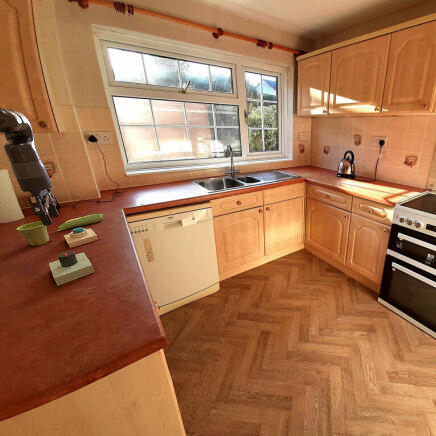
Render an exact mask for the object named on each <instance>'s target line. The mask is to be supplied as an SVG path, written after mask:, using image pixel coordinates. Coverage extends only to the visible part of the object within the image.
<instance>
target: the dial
mask: <svg viewBox="0 0 436 436" xmlns="http://www.w3.org/2000/svg"><path fill="white" fill-rule="evenodd" d="M75 255H76V253H75V251H74V250H68V251H64V252H61V253H59V254H57V258H58V259H57V260H59V261H60V264H61V266H62V267H70V266H73V265H75V264H76V263H78V260H77V258H76V256H75Z"/></svg>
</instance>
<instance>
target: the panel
mask: <svg viewBox="0 0 436 436" xmlns="http://www.w3.org/2000/svg"><path fill="white" fill-rule="evenodd" d="M75 256H76V258H77V260H78V263H76V264H75V265H73V266H70V267H62V266H61V264H60V261H59V259H57V260H54V261H51V262H49V263H48V266H49V269H50V271H51V274H52V278H53V279H54V281H55V283H56V286H57V287H59V286H61V285H64V284H66V283H69V282H72V281H75V280H77V279H80V278H83V277H86V276H88V275H91V274H93V273H96V272H95V268H94V266H93V264H92V263H91V261H90V260H89V258H88V257H87V255H86V253H85V252H84V251H83V252H80V253H75Z"/></svg>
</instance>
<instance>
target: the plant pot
mask: <svg viewBox="0 0 436 436" xmlns="http://www.w3.org/2000/svg"><path fill="white" fill-rule="evenodd" d="M16 231H18V233H20V234H22V236H23V237H24V239H25V240H26V242H28V244H29V245H30V246H31V247H35V246H42V245H44V244H47V243H48V242H50V236H49V233H48V229H47V226H44V225H43V224H42V221H41V220H40V221H34V222H29V223H26V224H21V225H20V226H18V227H17V228H16Z"/></svg>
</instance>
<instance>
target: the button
mask: <svg viewBox="0 0 436 436" xmlns="http://www.w3.org/2000/svg"><path fill="white" fill-rule="evenodd" d="M83 229H84V227H82V226H79V227H74V228H73V229H72V232H73V233H74V234H78V233H81V232H84V230H83Z"/></svg>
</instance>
